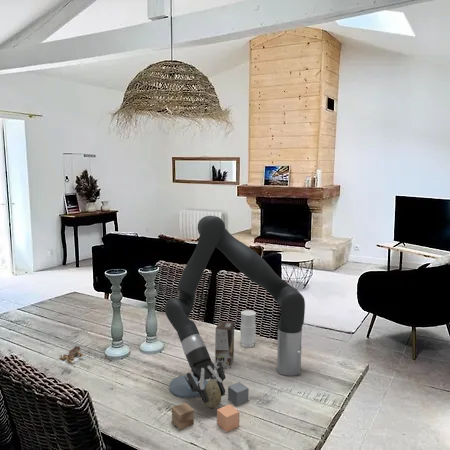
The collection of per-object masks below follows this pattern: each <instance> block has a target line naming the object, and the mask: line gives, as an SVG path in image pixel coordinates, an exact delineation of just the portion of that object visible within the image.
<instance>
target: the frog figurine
mask: <svg viewBox="0 0 450 450" xmlns="http://www.w3.org/2000/svg"><path fill="white" fill-rule="evenodd" d="M80 351H81V346H77V345H75V346H74V347H73V348H72V349H70V350H68V354H63V355H62V354H61V355H59V357H60V359H58V360H57V361H58V363H59V364H61V365H67V366H68V365H70V366H74V365H78V364H79V363H81V362H83V361H84V360H86V359H87V356H86V355H84V354H83V353H82V352H80ZM81 357H82V358H83V360H80V358H81ZM65 359H66V360H65Z"/></svg>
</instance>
